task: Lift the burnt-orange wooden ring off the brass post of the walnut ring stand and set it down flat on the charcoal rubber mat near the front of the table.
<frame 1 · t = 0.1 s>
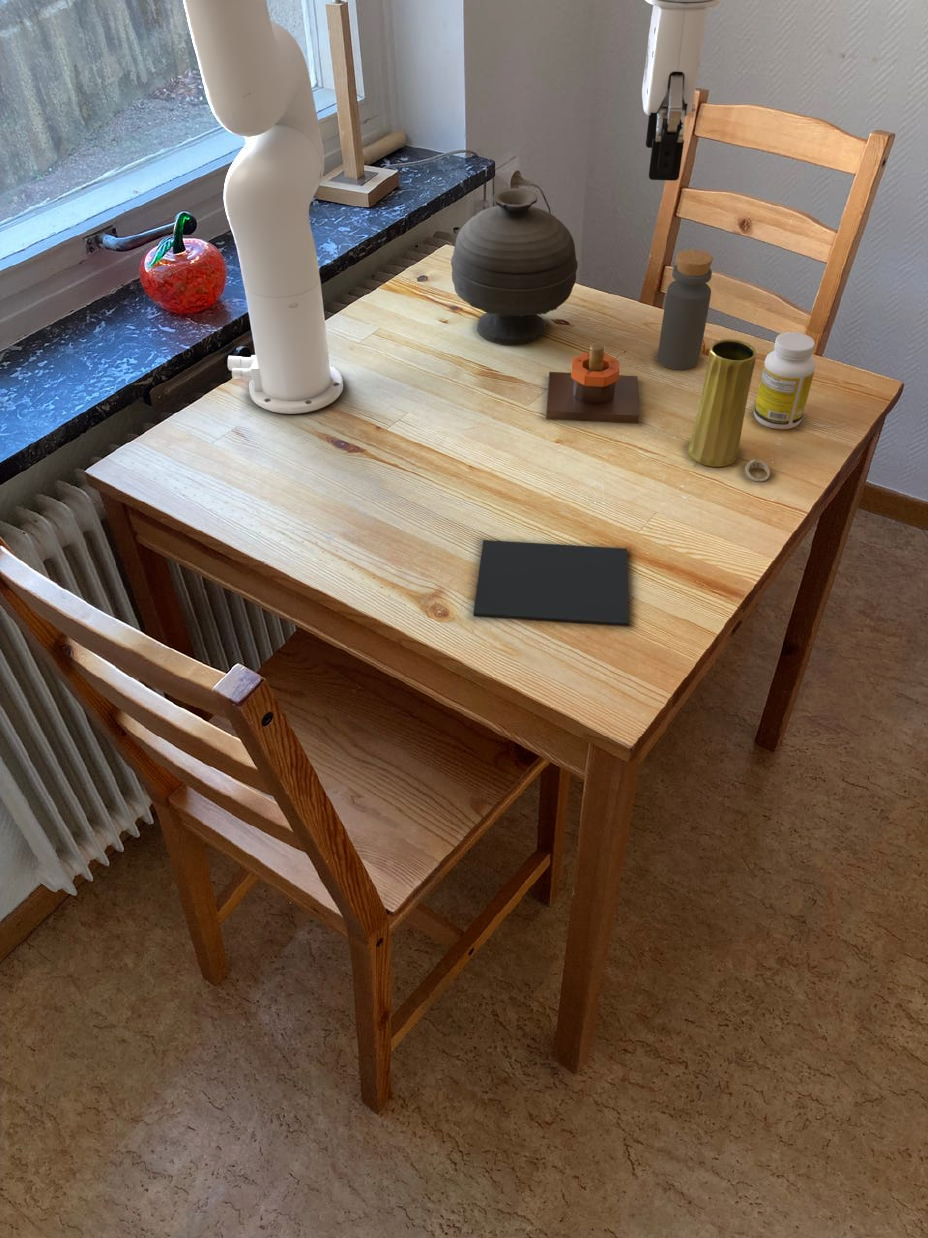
hand: (661, 162, 110), 31 cm above the table, tool pointing down, fingers open, 9 cm apart
mat: (552, 582, 107), on the table
orange ring: (594, 374, 130), point 4 cm above the table, touching stand
ring: (756, 476, 121), on the table
pill bottle: (776, 419, 130), on the table
stand: (592, 400, 133), on the table
vase: (712, 454, 124), on the table
bottle: (677, 360, 141), on the table
pot: (511, 329, 148), on the table
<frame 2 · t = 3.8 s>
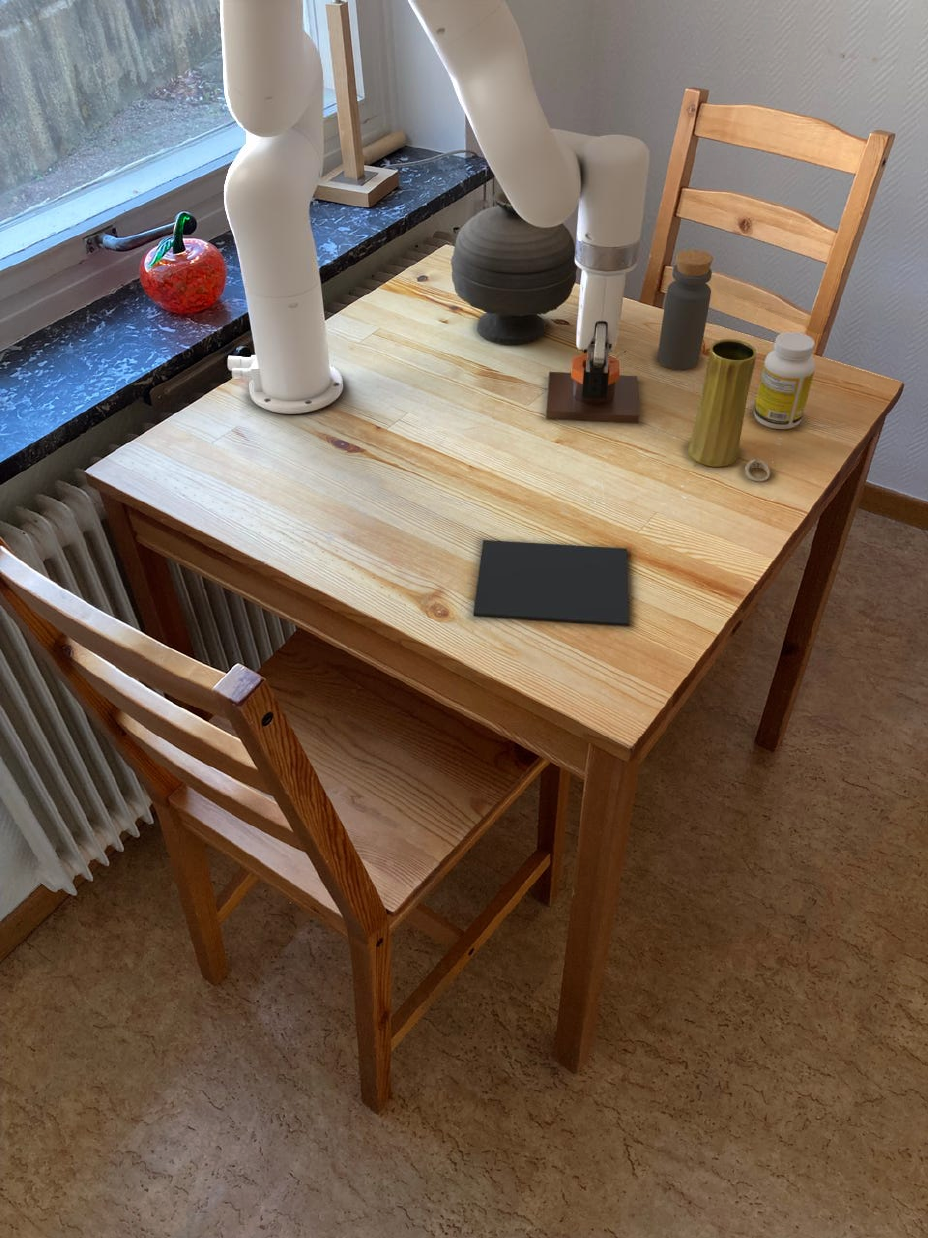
hand: (594, 381, 131), 3 cm above the table, tool pointing down, fingers closed on orange ring, 6 cm apart
orange ring: (594, 374, 130), point 4 cm above the table, touching gripper, stand
everything else where it was.
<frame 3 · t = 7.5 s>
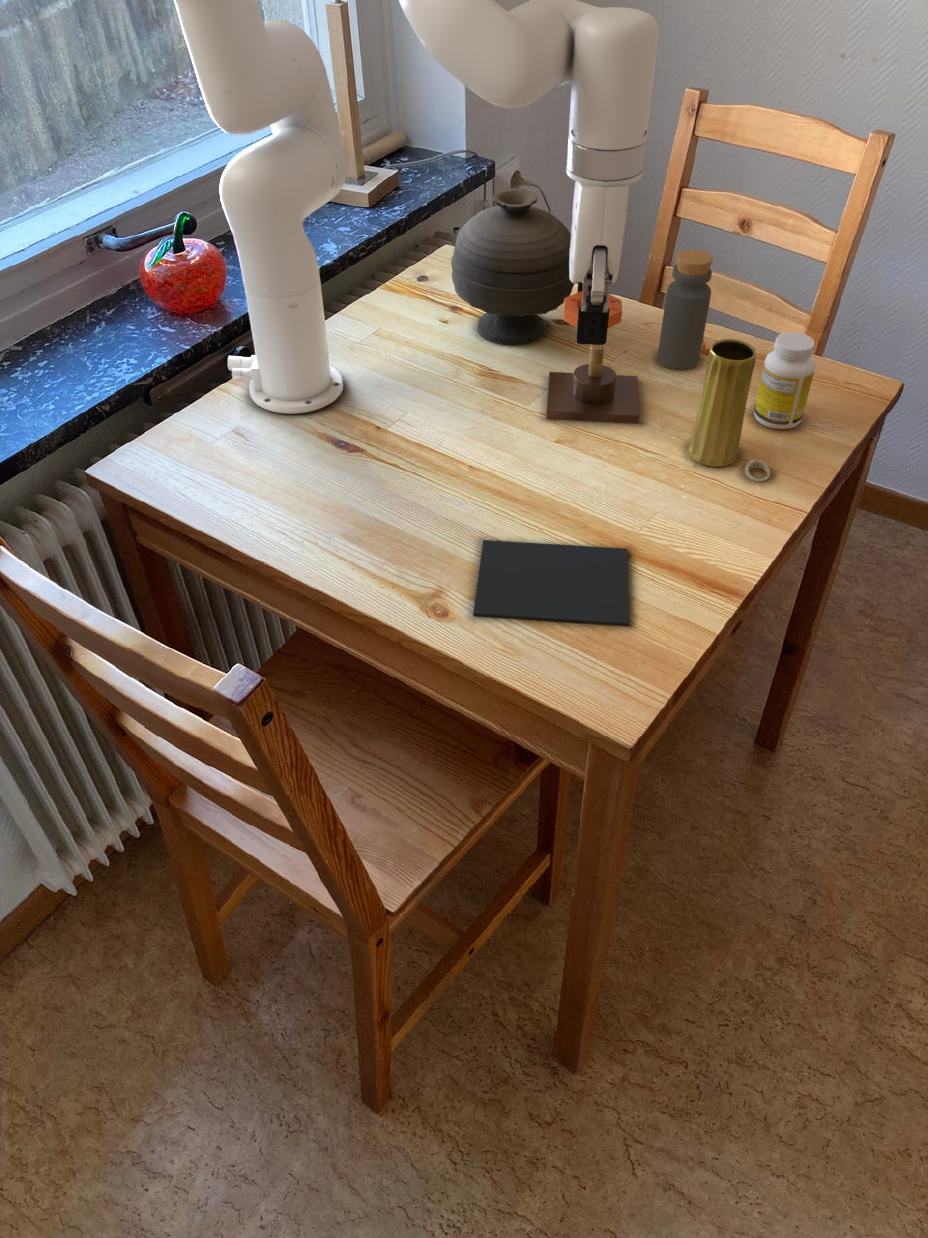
hand: (590, 326, 109), 19 cm above the table, tool pointing down, fingers closed on orange ring, 6 cm apart
orange ring: (591, 316, 108), point 20 cm above the table, touching gripper
everything else where it was.
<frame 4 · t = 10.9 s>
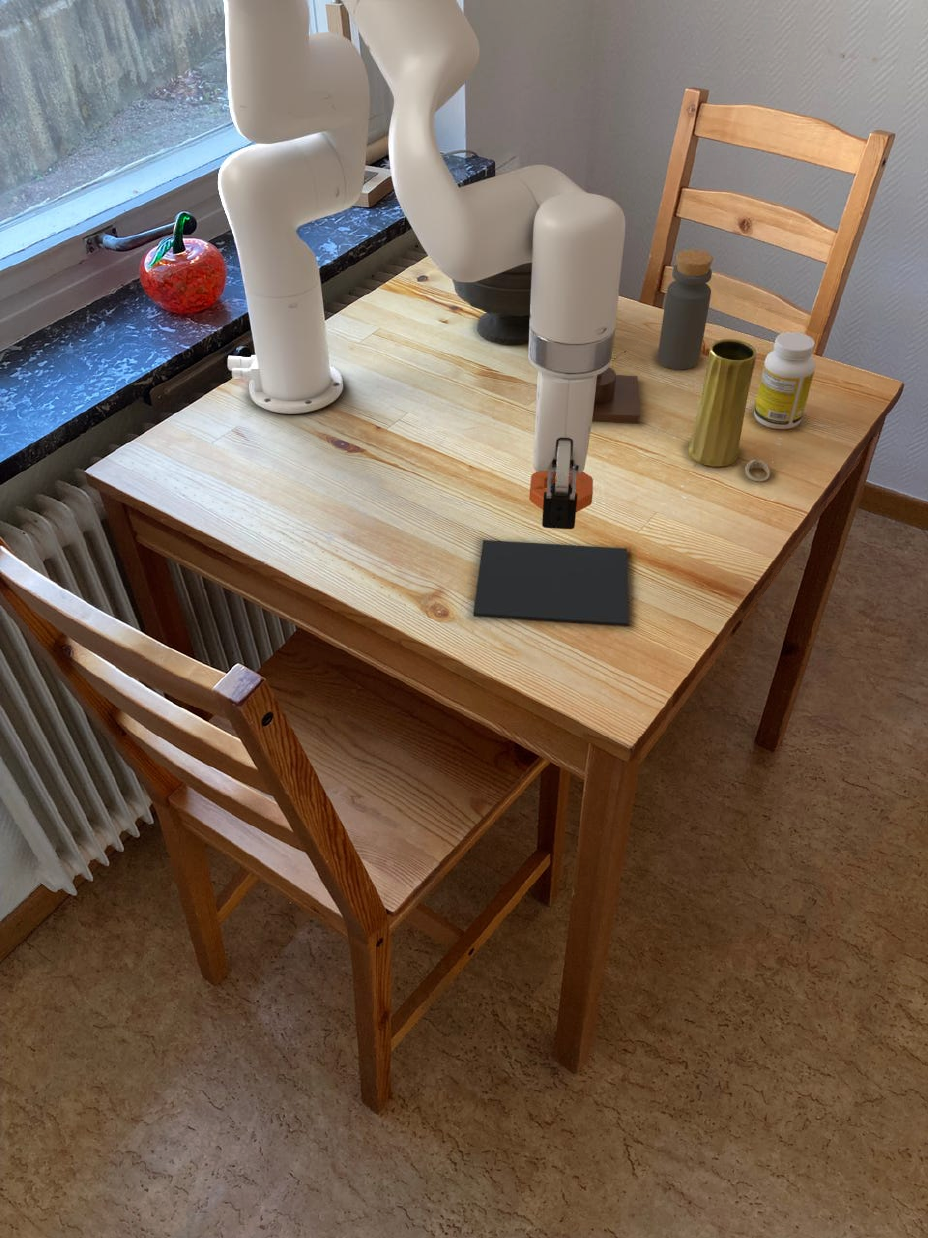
hand: (559, 504, 101), 10 cm above the table, tool pointing down, fingers closed on orange ring, 6 cm apart
orange ring: (560, 494, 100), point 11 cm above the table, touching gripper
everything else where it was.
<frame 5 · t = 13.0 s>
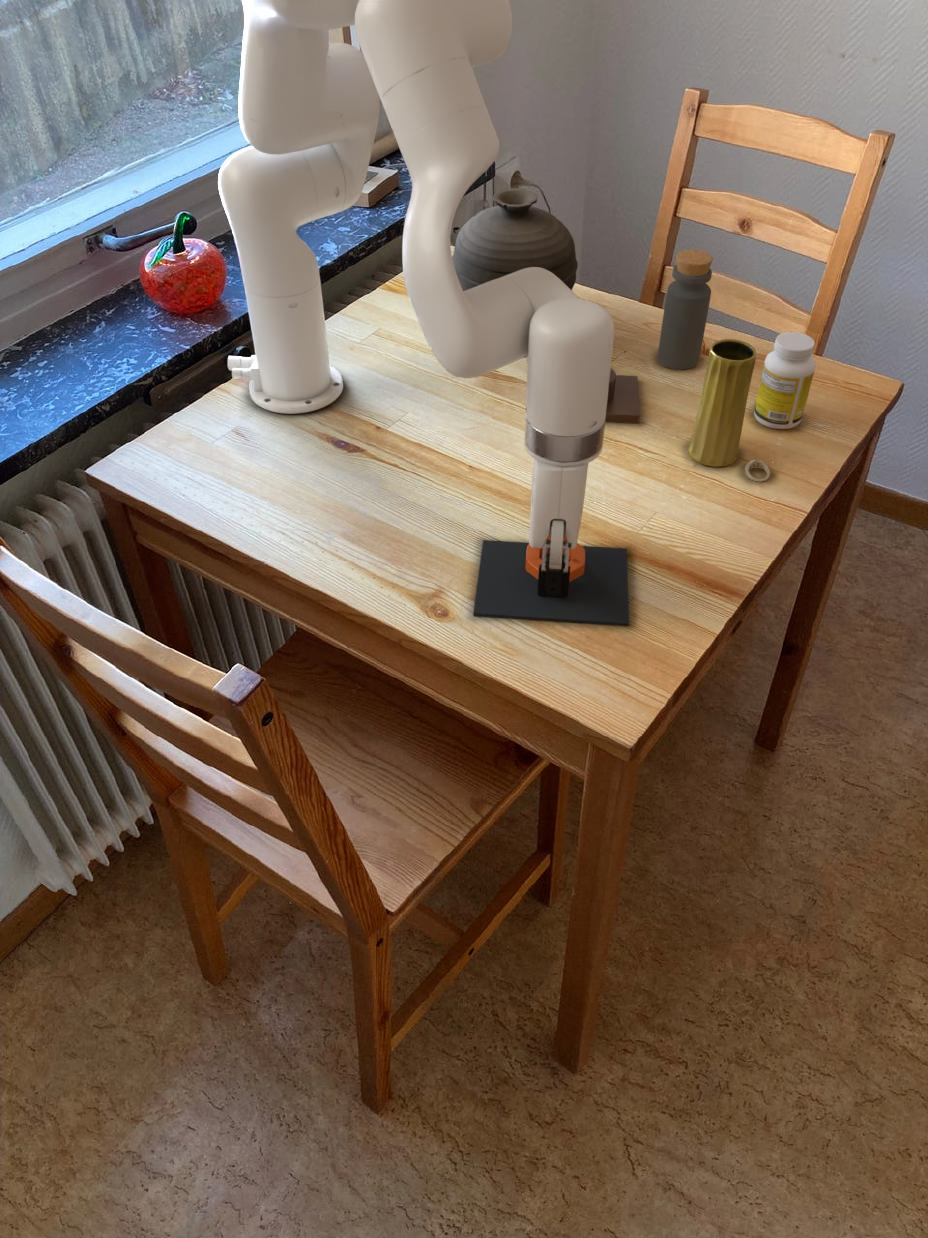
hand: (553, 572, 107), 1 cm above the table, tool pointing down, fingers closed on orange ring, 6 cm apart
orange ring: (555, 564, 106), point 2 cm above the table, touching gripper
everything else where it was.
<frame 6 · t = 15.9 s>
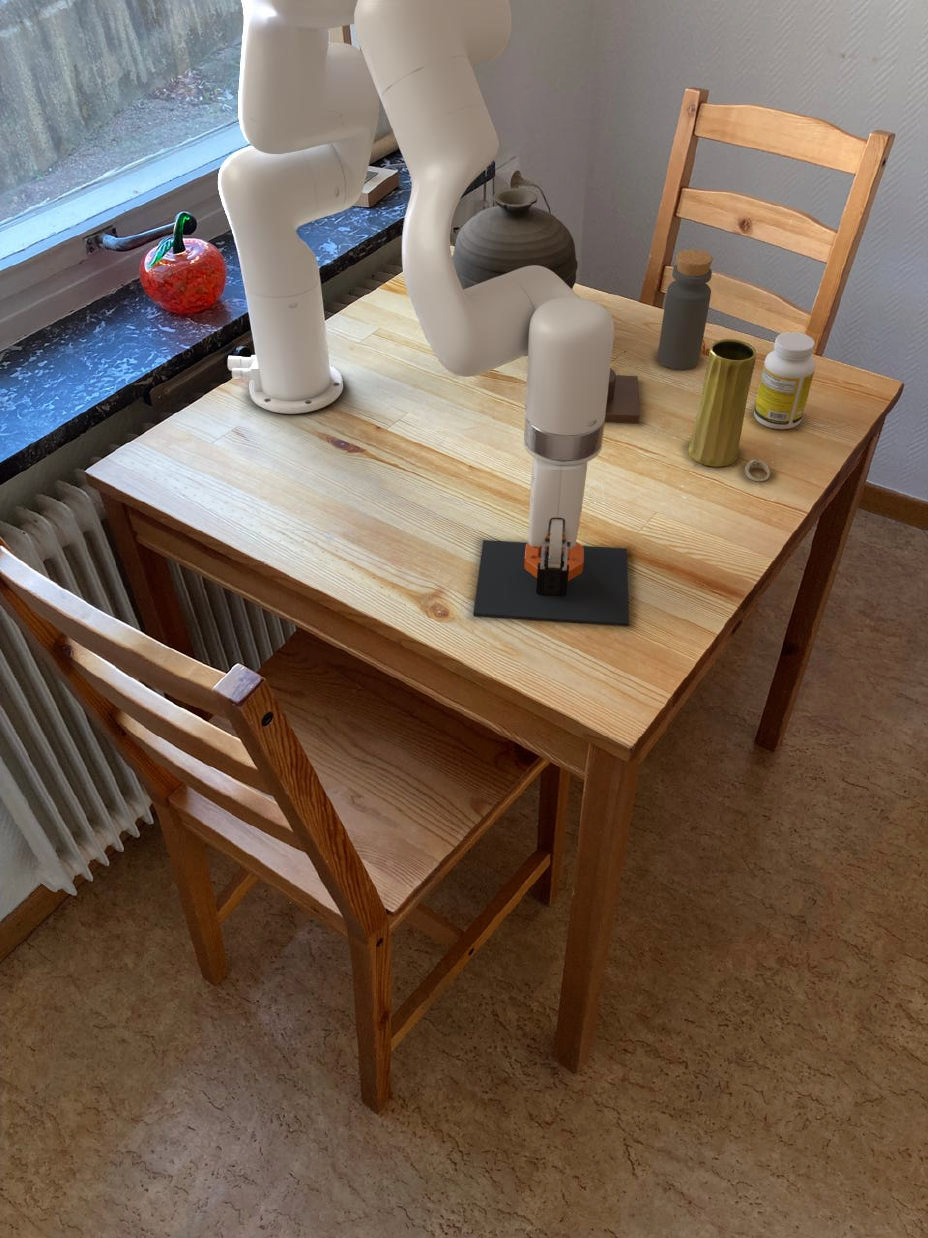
hand: (552, 571, 107), 1 cm above the table, tool pointing down, fingers closed on orange ring, 6 cm apart
orange ring: (553, 562, 106), point 2 cm above the table, touching gripper
everything else where it was.
when the fingers open (1 cm above the table, at t = 18.1 s): orange ring drops 2 cm, resting on mat.
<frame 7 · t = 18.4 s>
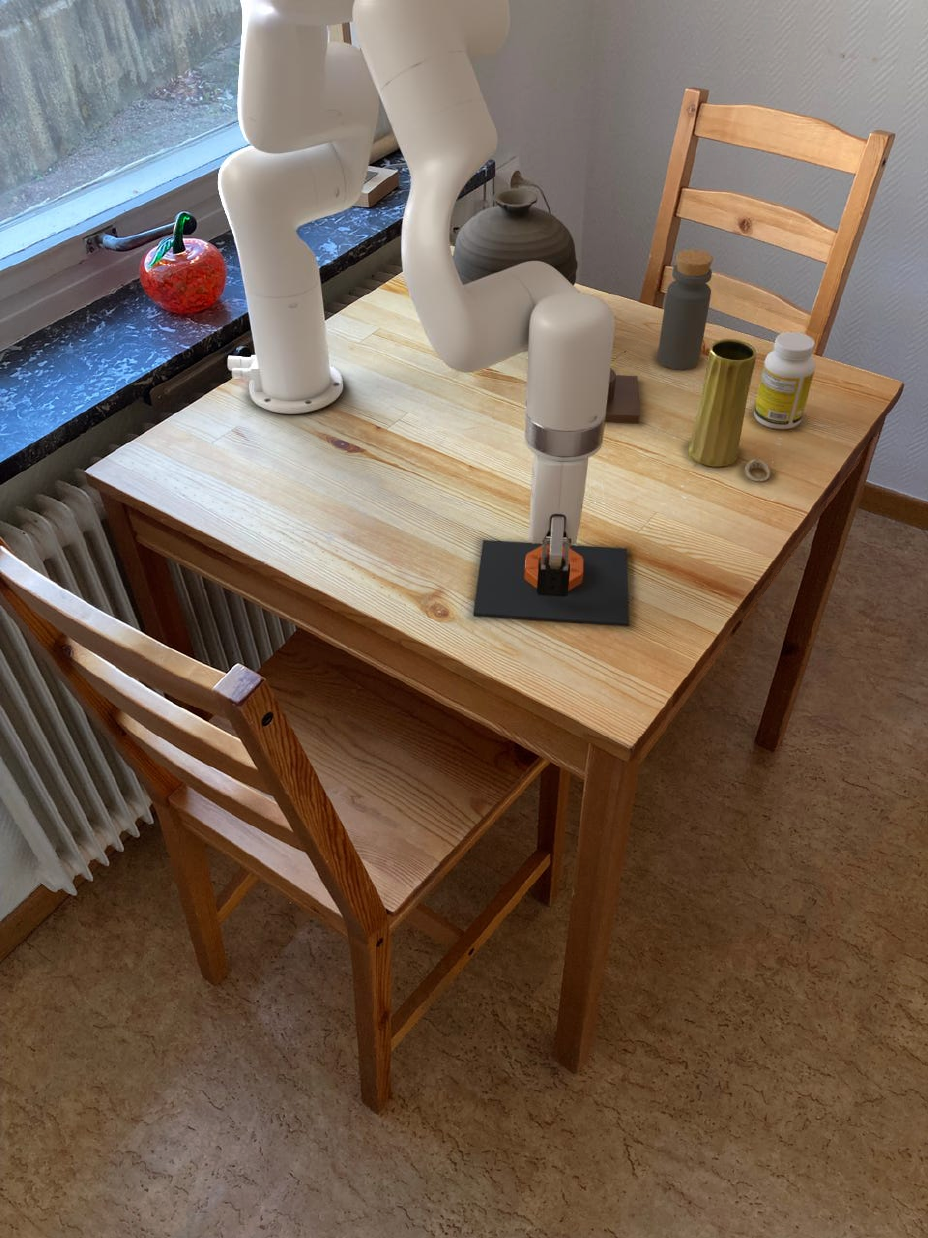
hand: (553, 563, 106), 2 cm above the table, tool pointing down, fingers open, 9 cm apart
orange ring: (553, 573, 107), resting on mat
everything else where it was.
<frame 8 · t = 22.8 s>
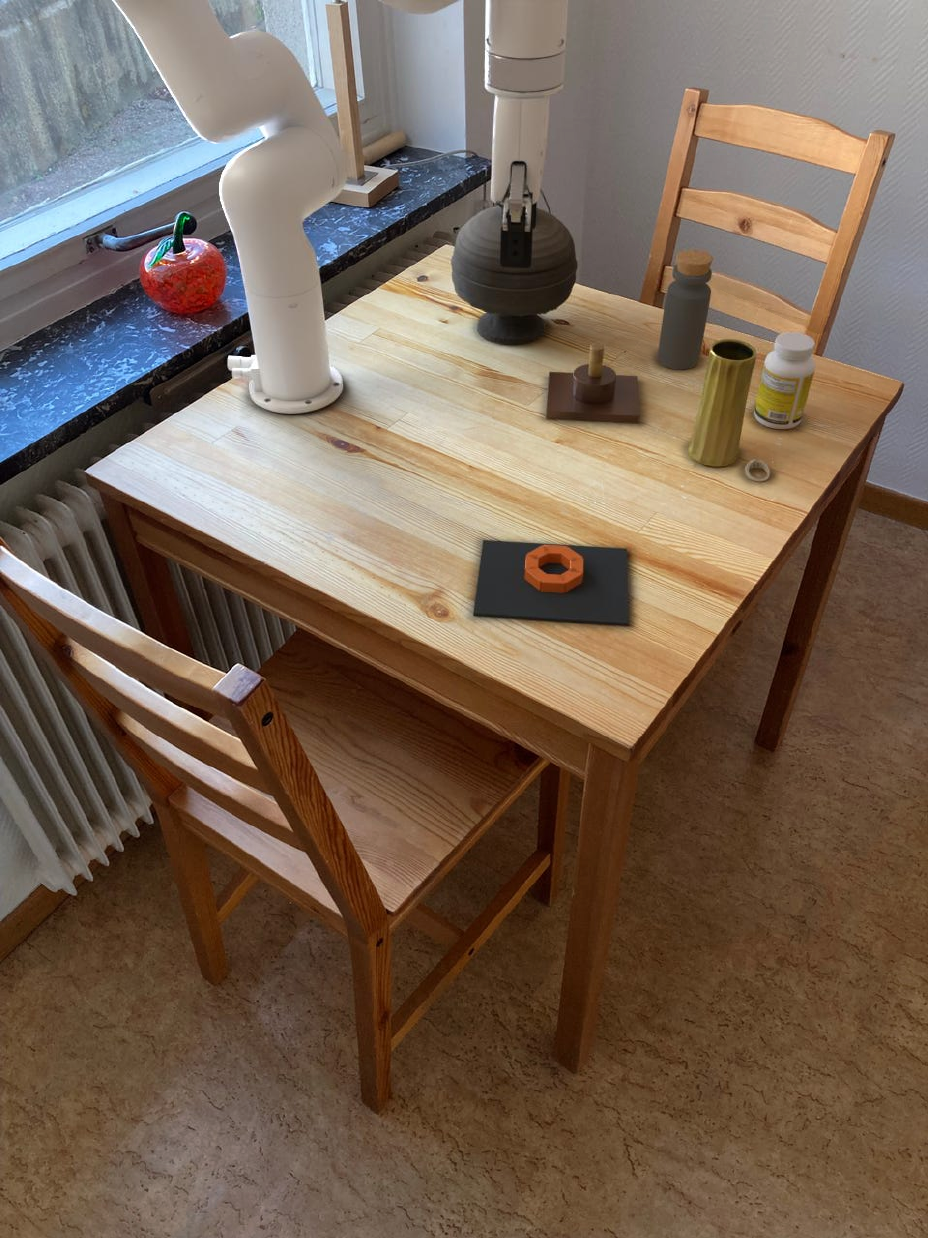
hand: (518, 246, 106), 26 cm above the table, tool pointing down, fingers open, 9 cm apart
nothing on the table moved.
at the end: orange ring inside the target area on the mat (1.0 cm from its centre), point 0.4 cm above the mat's base; the gripper is holding nothing; orange ring tilted 0° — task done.
